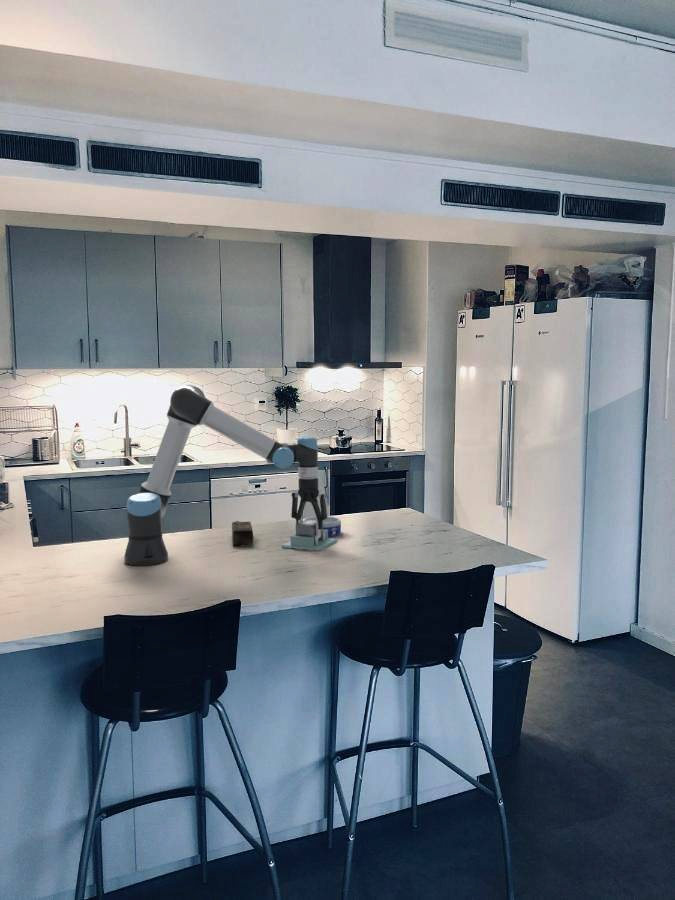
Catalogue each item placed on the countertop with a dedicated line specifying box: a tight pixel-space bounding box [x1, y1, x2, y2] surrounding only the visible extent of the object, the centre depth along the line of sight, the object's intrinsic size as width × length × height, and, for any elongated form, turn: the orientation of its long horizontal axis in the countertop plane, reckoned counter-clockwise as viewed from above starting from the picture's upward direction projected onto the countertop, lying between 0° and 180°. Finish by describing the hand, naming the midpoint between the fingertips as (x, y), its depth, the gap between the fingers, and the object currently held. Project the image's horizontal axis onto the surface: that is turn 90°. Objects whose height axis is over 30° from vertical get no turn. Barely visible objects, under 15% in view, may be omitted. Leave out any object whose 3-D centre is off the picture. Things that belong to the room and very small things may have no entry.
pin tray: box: [281, 530, 338, 552], centre depth 278 cm, size 16×16×4 cm
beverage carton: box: [231, 520, 254, 547], centre depth 286 cm, size 8×19×7 cm, turn 9°
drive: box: [295, 520, 323, 540], centre depth 278 cm, size 10×6×6 cm, turn 154°
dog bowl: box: [303, 515, 342, 538], centre depth 297 cm, size 15×15×6 cm
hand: (309, 536), depth 278 cm, fingers closed on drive, 7 cm apart
